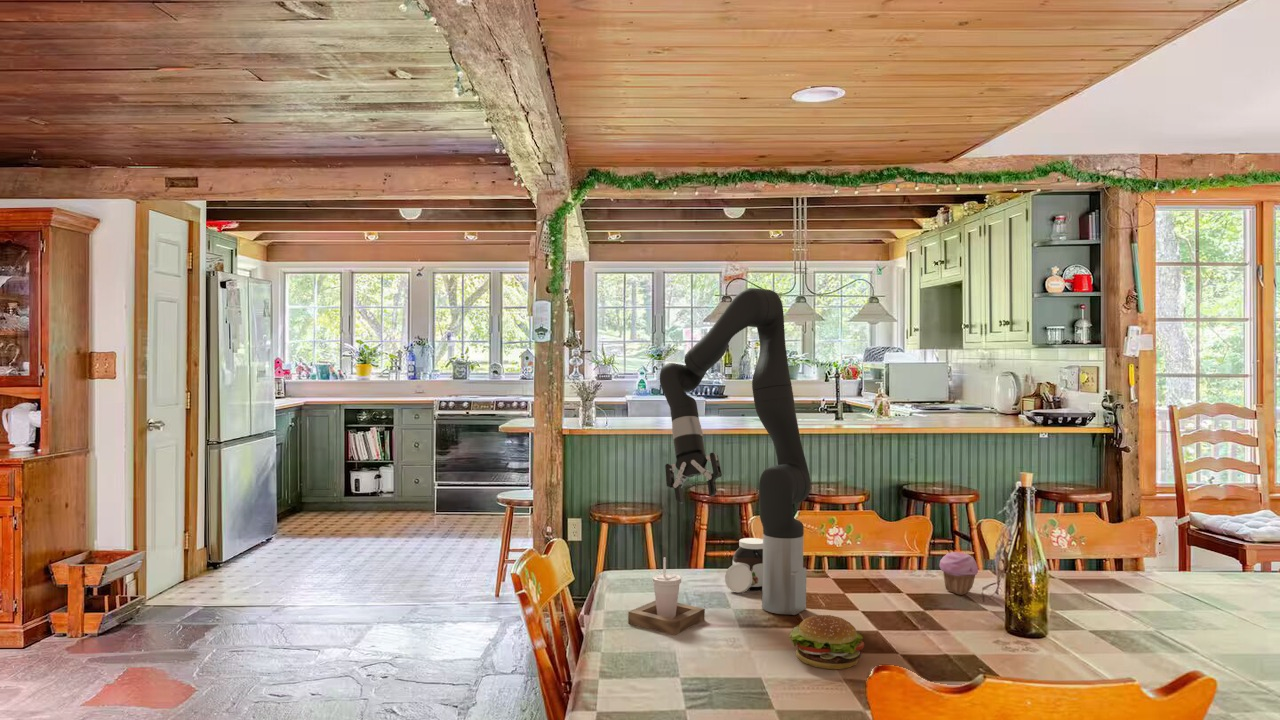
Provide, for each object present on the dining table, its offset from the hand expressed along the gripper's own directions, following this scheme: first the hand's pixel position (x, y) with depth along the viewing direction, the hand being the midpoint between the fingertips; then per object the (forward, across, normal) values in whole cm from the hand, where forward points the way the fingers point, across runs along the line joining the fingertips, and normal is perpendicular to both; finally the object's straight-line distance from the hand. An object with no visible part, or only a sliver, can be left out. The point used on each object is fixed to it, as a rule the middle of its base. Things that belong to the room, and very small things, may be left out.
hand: (696, 499), depth 199 cm
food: (+41, +30, -20) cm, 54 cm away
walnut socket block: (+29, -4, -17) cm, 34 cm away
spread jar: (+22, +4, +15) cm, 27 cm away
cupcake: (+28, +50, +40) cm, 70 cm away
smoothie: (+29, -4, -17) cm, 34 cm away
